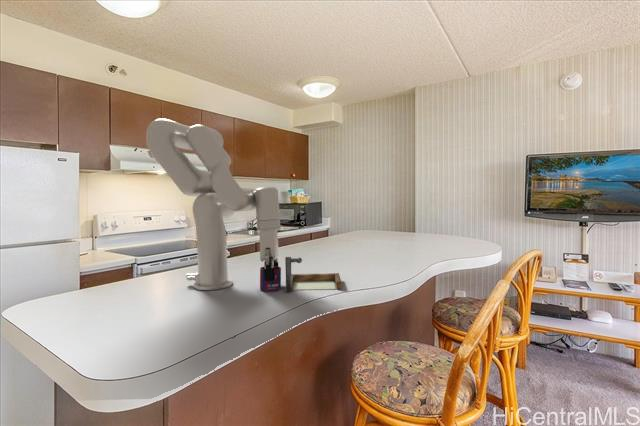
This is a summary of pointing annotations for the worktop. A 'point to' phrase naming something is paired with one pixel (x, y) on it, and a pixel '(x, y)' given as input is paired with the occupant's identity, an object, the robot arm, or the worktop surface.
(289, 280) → the hook post
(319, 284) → the bay mat
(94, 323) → the worktop surface
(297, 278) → the frame
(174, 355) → the worktop surface
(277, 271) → the mug
